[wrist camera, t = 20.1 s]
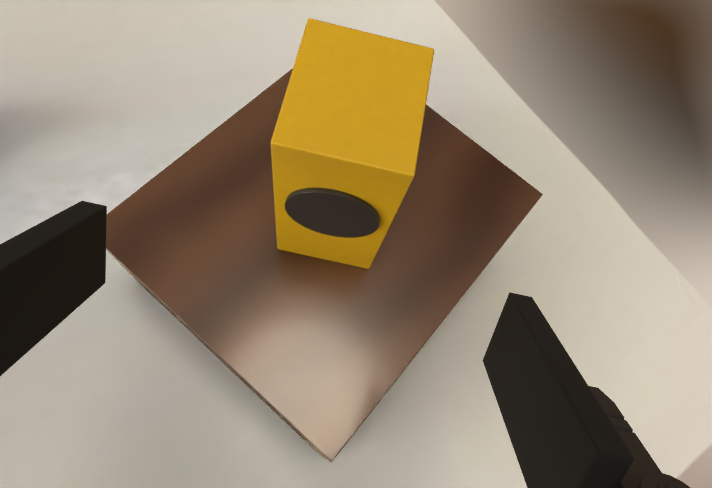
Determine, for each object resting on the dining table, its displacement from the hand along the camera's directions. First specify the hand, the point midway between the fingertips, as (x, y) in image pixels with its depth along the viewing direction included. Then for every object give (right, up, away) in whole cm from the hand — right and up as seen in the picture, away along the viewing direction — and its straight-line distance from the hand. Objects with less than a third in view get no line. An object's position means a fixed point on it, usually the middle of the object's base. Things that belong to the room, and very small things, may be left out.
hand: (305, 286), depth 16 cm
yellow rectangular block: (0, +4, +16) cm, 17 cm away
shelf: (-1, 0, +26) cm, 26 cm away
